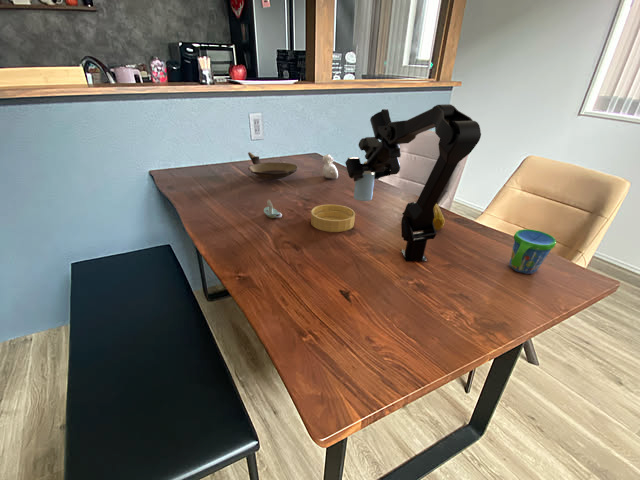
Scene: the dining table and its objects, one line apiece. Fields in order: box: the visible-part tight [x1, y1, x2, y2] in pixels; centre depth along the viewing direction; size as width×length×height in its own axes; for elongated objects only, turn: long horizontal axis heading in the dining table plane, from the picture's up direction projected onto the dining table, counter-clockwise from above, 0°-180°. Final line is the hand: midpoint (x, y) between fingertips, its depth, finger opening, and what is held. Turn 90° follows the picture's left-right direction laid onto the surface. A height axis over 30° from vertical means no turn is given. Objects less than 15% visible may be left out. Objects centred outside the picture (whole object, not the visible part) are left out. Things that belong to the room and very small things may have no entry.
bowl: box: [310, 204, 356, 233], centre depth 127 cm, size 15×15×4 cm
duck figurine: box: [322, 153, 339, 180], centre depth 170 cm, size 12×8×11 cm
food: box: [433, 203, 446, 231], centre depth 133 cm, size 21×6×6 cm, turn 174°
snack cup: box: [509, 228, 557, 275], centre depth 105 cm, size 16×10×10 cm
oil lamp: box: [247, 151, 299, 180], centre depth 170 cm, size 22×30×8 cm
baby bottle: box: [353, 160, 376, 202], centre depth 128 cm, size 7×7×12 cm
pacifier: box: [263, 199, 283, 219], centre depth 131 cm, size 7×6×6 cm
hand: (362, 179), depth 129 cm, fingers closed on baby bottle, 6 cm apart
